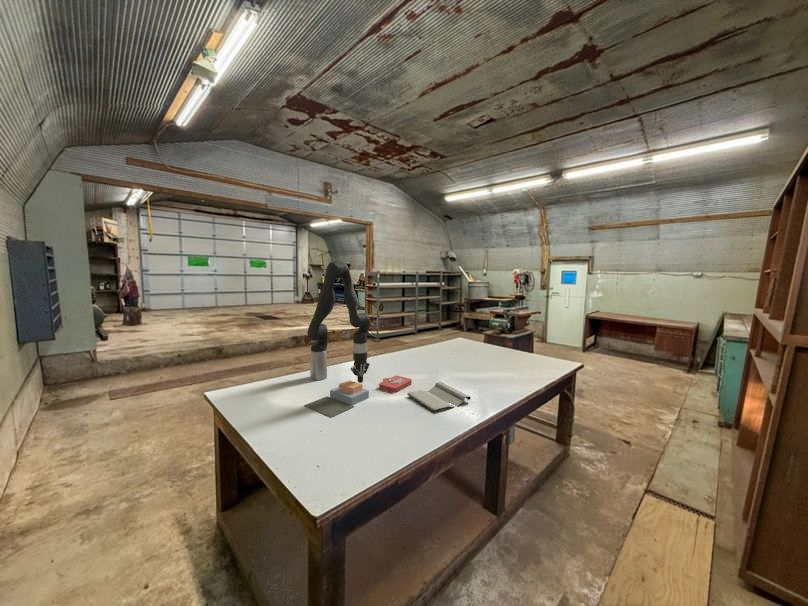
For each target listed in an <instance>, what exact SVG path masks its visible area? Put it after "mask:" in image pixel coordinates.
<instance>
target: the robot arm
mask: <svg viewBox="0 0 808 606" xmlns="http://www.w3.org/2000/svg"><path fill="white" fill-rule="evenodd" d="M338 279H340V280H341V281H342V282H343V285H344V289H343V300H344V303H345V306H346V308H347V310H348V318H349V323H350V325H351V326H352V327H353V328H355V329H357V331H354V333H353V345H352V346H353V347H352V359H353V366H352V367H350V368H349V369H350V371H351V372H352V374H353V375H354V376H356V377H357V383H359V384H363V382H364V375H366V373H367V371H368V369H369V367H370V365H371V364H370V363H368V361H367V360H368V340H367V339H368V338H367V337H368V332H369V328H370V324H371V319H370V316H369V314H368V313H367V312H366V313H365V312H364V313H363V312H362V313H358V311H359V310H361V308H362V306H361V305H362V304H361V302H360V300H359V298H358V296H357V294H356V291H355V288H354V284H353V280H352V275H351V272H350V268H349V266H348V264H347V263H346V262H343V261H331V262H328V264H327V266H326V269H325V273H324V279H323V284H322V288H321V291H320V295H319V297H318V301H317V304H316V307H315V309H314V310H315V311H314V313H313V316H312V319H311V321H310V324H309V325H308V328H307V329H308V330H307V337H308V339H309V340H310V341H315V343H313V344H312V345H311V346H310V363H309V364H310V365H309V366H310V369H309V370H310V374H309V376H310V378H311V380H312V381H313V380H314V381H322V380H326V379H328V378H327V377H328V375H327V374H328V368H327V367H328V363H327V362H328V359H327V354H328V353H327V348H328V341H329V330H328V327H327V325H326V324H324V323H323V321H324V320H325V319H326V318H327V317H328V316H329V315H330V313H331V312H332V311H333V309H334V306H335V303H336V294H335V291H334V285H335V284H334V283H335V281H336V280H338Z"/></svg>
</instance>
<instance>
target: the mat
mask: <svg viewBox="0 0 808 606" xmlns="http://www.w3.org/2000/svg"><path fill="white" fill-rule="evenodd" d="M406 395H407V396H408V397H409V398H411V399H413V400H414V401H416V402H418V403H420V404H421V405H422V406H423V407H425V408H427V409H428V410H429V411H431V412H432V413H435V412H436V411H438V410H443V409H445V408H453V407H456V406H458V407H459V406H460V405H461V404H463V403H464V401H465V400H466V399H467V401H470V400H471V396H470V395H468V394H466V393H464V392H462V391H460V390H458V389H456V388H454V387H452V386H450V385H448V384H446V383H444V382H442V381H437V382H436V383H435V384H434V386H433V387H431V388H430V389H429V390H421V389H420V390H414V391H409V392H407V394H406ZM450 403H451V405H450ZM452 404H453V405H452ZM454 405H455V406H454Z"/></svg>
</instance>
